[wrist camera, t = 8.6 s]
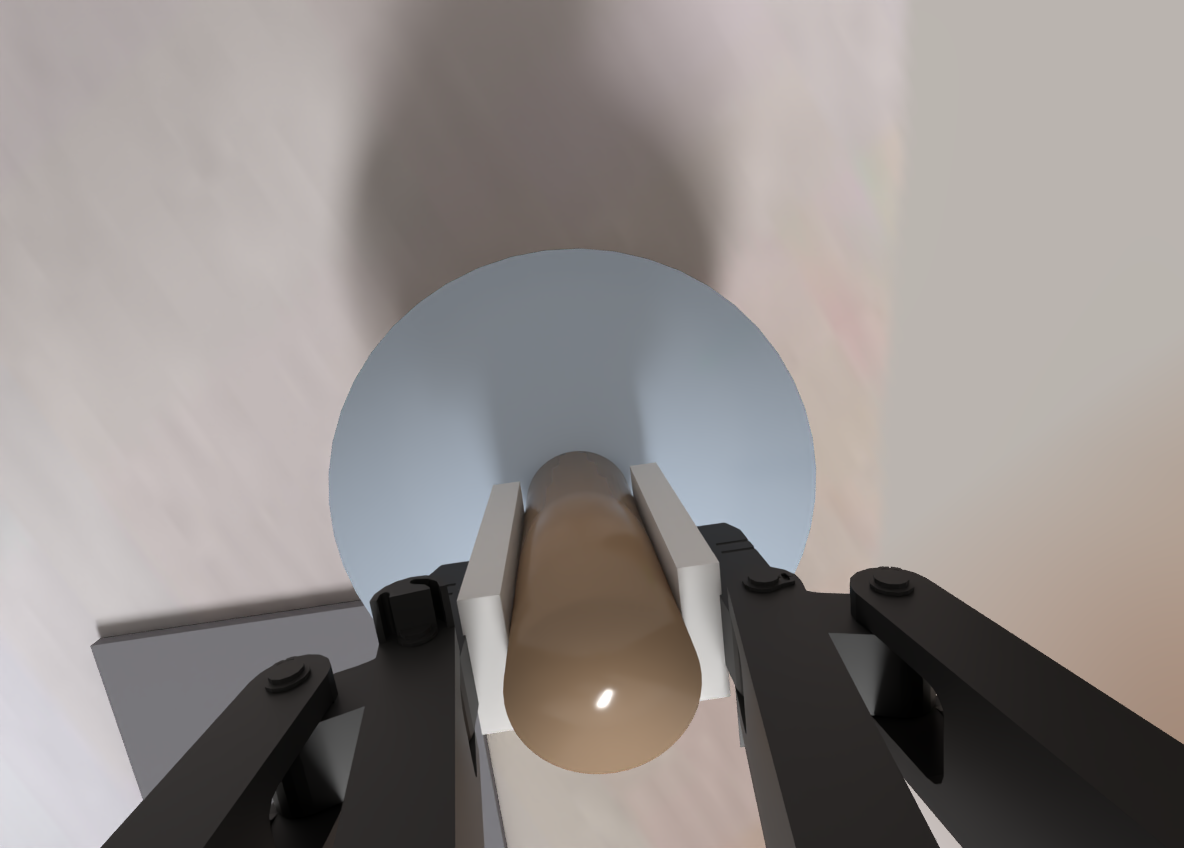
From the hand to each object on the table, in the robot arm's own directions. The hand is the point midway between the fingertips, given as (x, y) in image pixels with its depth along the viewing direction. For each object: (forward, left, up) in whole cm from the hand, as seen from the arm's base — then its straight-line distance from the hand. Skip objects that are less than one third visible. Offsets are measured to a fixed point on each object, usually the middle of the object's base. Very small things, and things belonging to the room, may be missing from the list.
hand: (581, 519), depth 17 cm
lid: (0, 0, -2) cm, 2 cm away
